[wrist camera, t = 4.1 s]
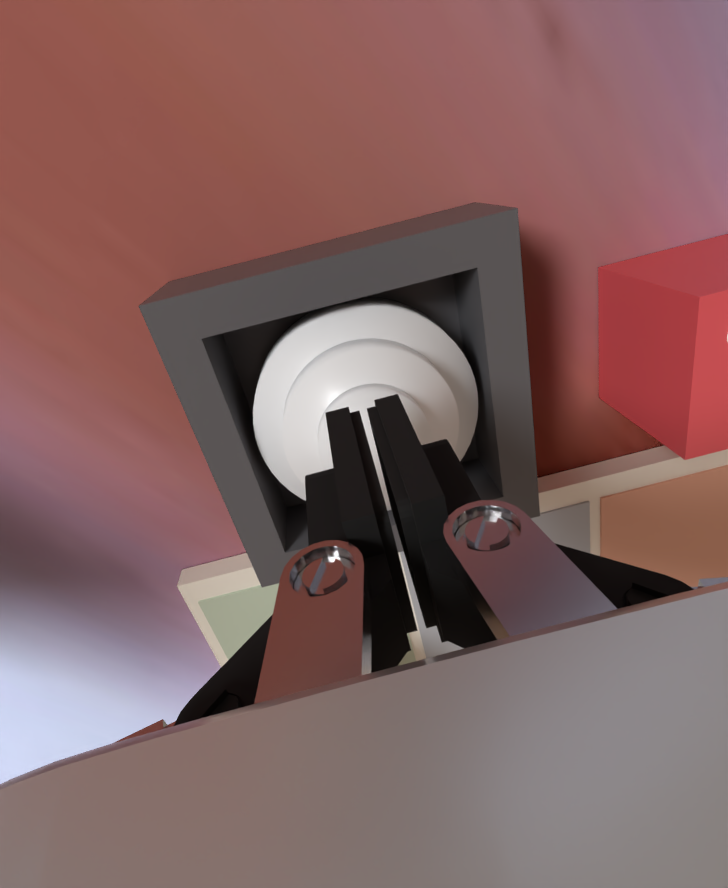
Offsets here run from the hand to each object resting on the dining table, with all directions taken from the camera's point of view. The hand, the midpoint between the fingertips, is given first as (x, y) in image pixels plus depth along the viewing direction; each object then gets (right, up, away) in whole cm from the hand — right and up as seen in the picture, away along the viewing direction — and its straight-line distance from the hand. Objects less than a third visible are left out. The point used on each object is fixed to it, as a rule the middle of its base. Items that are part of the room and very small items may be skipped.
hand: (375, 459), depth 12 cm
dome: (0, +2, +5) cm, 5 cm away
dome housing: (-1, +2, +7) cm, 7 cm away
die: (+11, +5, +7) cm, 14 cm away
